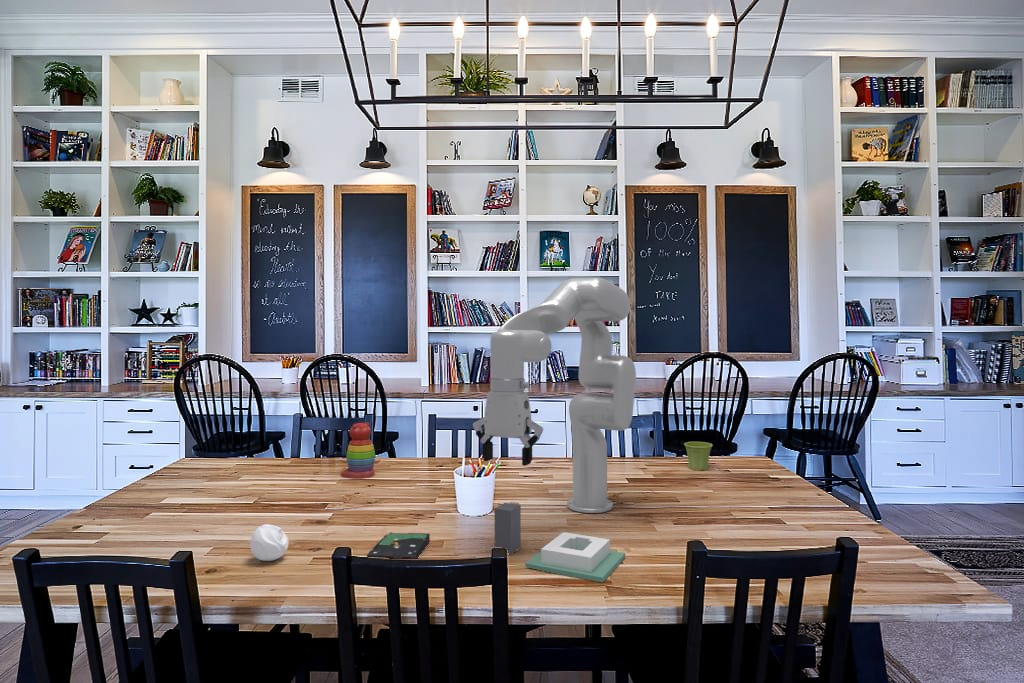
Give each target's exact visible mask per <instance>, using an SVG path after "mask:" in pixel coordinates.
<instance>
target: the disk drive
mask: <svg viewBox="0 0 1024 683" xmlns="http://www.w3.org/2000/svg"><path fill="white" fill-rule="evenodd" d="M430 536H431V535H430V533H421V532H408V533H407V532H401V533H400V532H392V531H391V532H389V533H387V534H385V535H384V536H383V537H382V538H381V539H380V540H379V541H378V542H377V544H375V546H374V547H373V548H371V549H370V551H368V553H367V554H366V558H367V557H374V558H389V559H418V560H419V558H420V557H419V555H420V554H421V553H422V551H423V550H424V549H425V547H426V546H427V545H428V544H430V543H429V542H431V540H430V539H431V537H430ZM428 546H429V545H428ZM428 546H427V547H428ZM427 547H426V548H427ZM425 550H426V549H425ZM425 550H424V551H425ZM424 551H423V552H424ZM422 554H423V553H422ZM422 554H421V555H422ZM418 557H419V558H418Z"/></svg>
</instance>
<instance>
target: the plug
mask: <svg viewBox="0 0 1024 683" xmlns="http://www.w3.org/2000/svg"><path fill="white" fill-rule="evenodd" d="M521 517H522V516H521V504H520V503H519V502H516V501H511V502H504V503H502V504H500V505H498V506H497V507H494V548H495V547H502V548H507V550H508V553H509V555H508V556H512V555H513V554H512V553H514V552H515V551H516V550H517V549H519V548H520V547H522V546H521V545H522V544H521V542H522V536H521V535H522V534H521V533H522V531H521V529H522V528H521V525H522V524H521ZM519 550H520V549H519ZM516 552H517V551H516ZM516 552H515V553H516ZM515 553H514V554H515Z"/></svg>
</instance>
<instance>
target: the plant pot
mask: <svg viewBox="0 0 1024 683" xmlns="http://www.w3.org/2000/svg"><path fill="white" fill-rule="evenodd" d="M683 445H684V446H685V449H686V454H687V462H688V468H689V469H691V470H693V471H699V472H700V471H702V470H703V471H706V470H708V468H709V461H710V455H711V454H710V453H711V451H712V447H713V444H712V443H710V442H705V441H688V442H685V443H684V444H683Z"/></svg>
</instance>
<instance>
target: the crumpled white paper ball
mask: <svg viewBox="0 0 1024 683" xmlns="http://www.w3.org/2000/svg"><path fill="white" fill-rule="evenodd" d="M289 544H290V540H289V538H288V536H287V534H286V533H285V532H284V531H283V530H282V527H280V526H277V525H273V524H262V525H260V526H259V527H257V528H256V529H255V530H254V532H253V533H252V535H251V538H250V545H249V546H250V550H251V553H252V554H253V556H254V557H255V558H256V559H258V560H260V561H263V562H271V561H275V560H277V559H279V558H281V557H283V556H284V555H285V553H286V551H287V550H288V547H289Z"/></svg>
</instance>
